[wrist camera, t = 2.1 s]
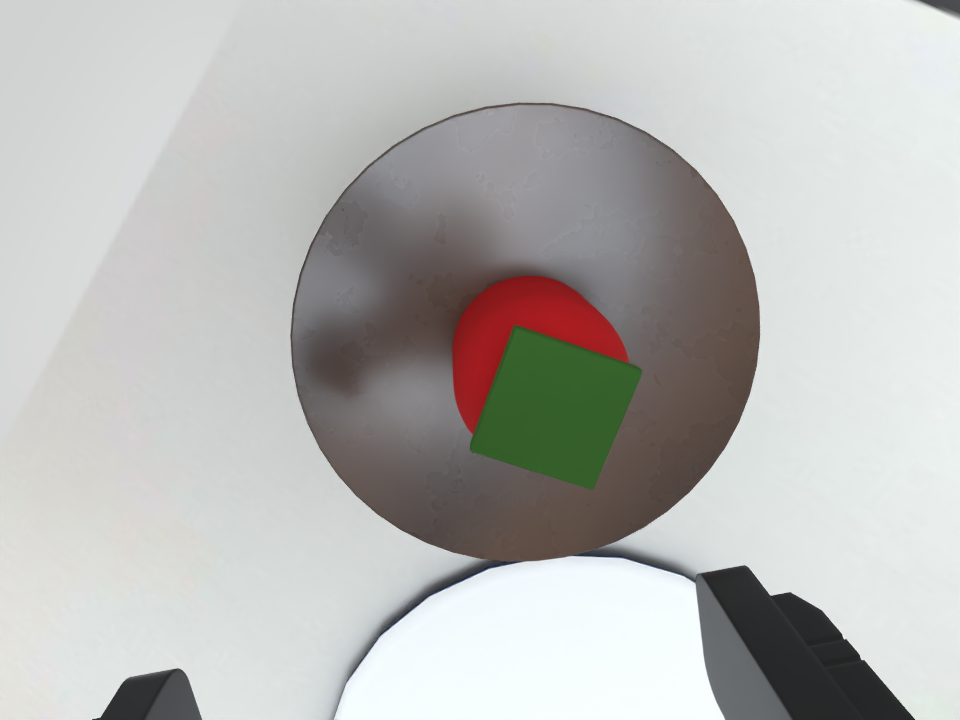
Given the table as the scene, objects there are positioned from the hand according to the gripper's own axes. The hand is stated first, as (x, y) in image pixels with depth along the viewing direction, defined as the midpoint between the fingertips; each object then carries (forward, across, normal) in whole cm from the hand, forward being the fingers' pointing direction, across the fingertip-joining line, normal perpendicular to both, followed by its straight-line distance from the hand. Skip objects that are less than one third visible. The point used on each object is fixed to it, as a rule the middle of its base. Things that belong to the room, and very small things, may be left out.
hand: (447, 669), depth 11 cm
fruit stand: (+23, -3, -2) cm, 23 cm away
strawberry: (+10, -3, -2) cm, 10 cm away
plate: (+23, -2, +24) cm, 33 cm away
